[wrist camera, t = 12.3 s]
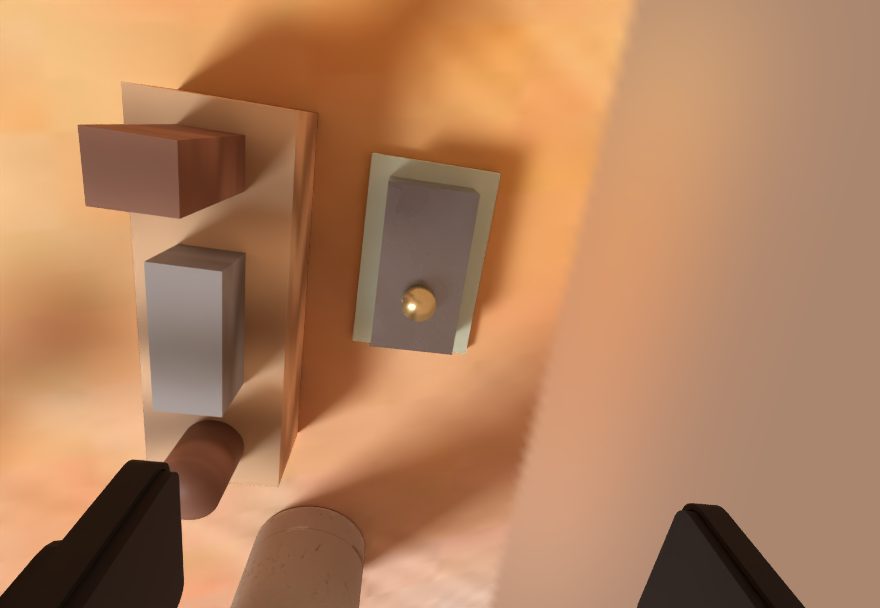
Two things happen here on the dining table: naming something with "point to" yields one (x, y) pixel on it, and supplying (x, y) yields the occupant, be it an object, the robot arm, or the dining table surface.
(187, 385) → the body
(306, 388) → the dining table surface
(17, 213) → the dining table surface
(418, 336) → the lever cap
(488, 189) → the felt mat
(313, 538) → the thermos bottle
